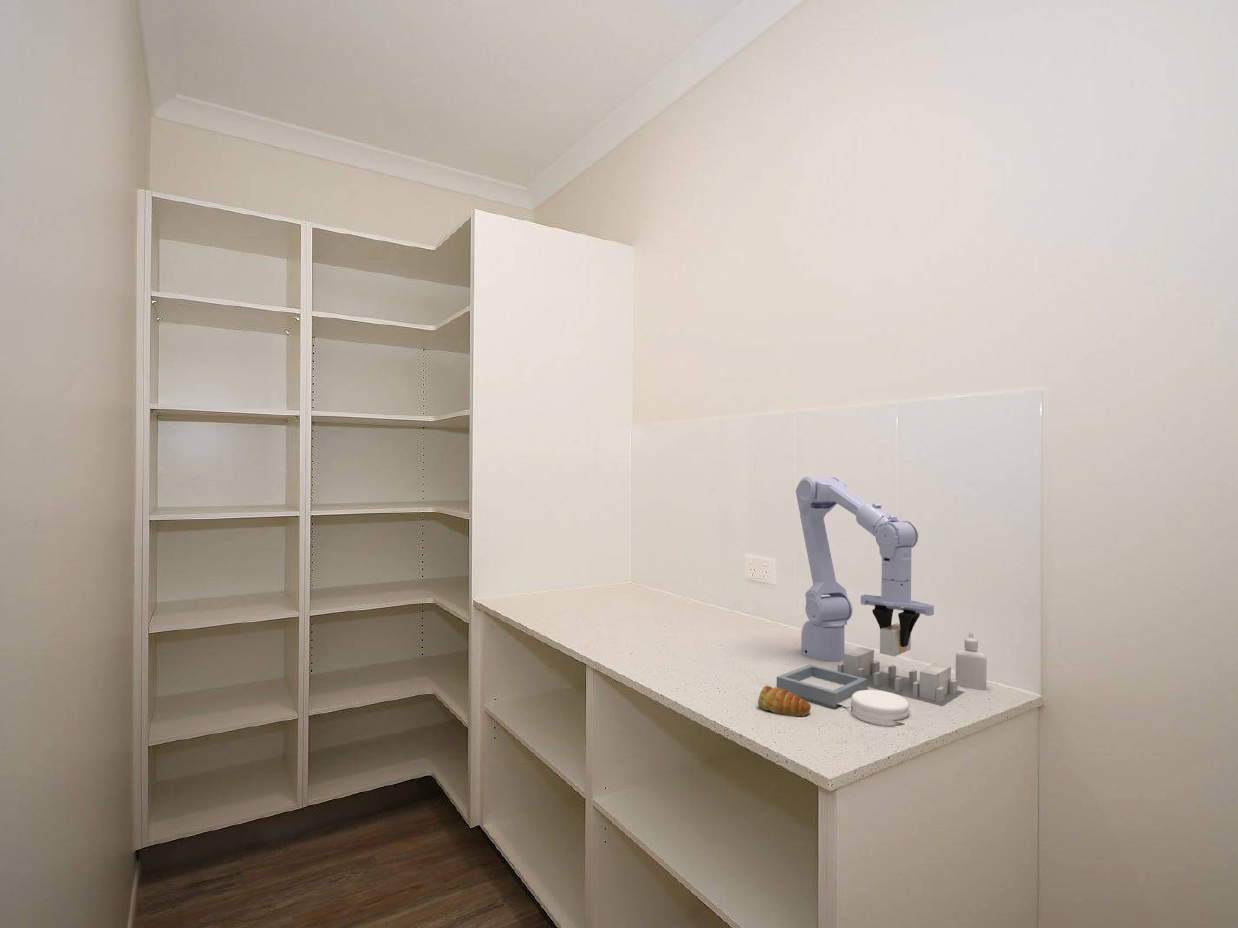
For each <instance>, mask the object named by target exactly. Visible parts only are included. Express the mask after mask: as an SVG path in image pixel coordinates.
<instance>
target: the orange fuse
mask: <svg viewBox="0 0 1238 928" xmlns="http://www.w3.org/2000/svg"><path fill="white" fill-rule="evenodd" d="M911 637H912V634H911V635H910V638H909V642H908V646H906V647H901V644H900V623H894V624H891V625H890V626H887V627H885V628H882V629H880V628H879V654H881V655H887V656H891V657H897V656H898V655H901V654H904V653H906V652H908V651H911V650H912V649H911V647H912V643H911V642H912V639H911Z"/></svg>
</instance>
